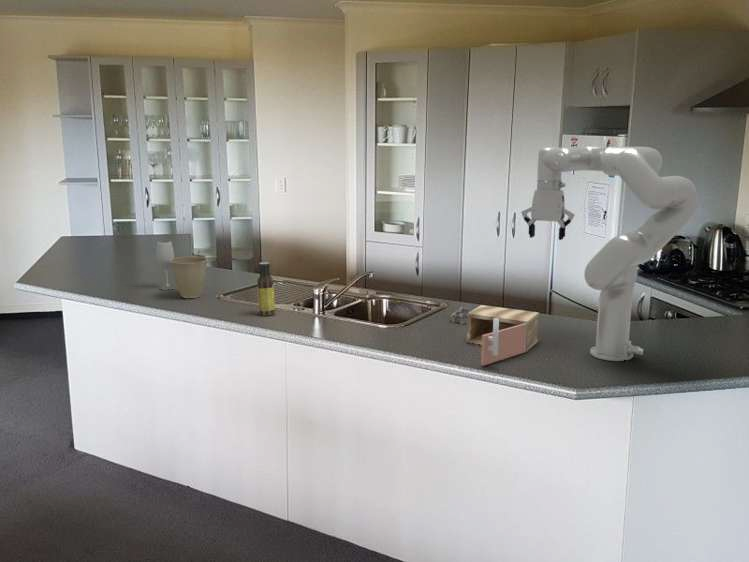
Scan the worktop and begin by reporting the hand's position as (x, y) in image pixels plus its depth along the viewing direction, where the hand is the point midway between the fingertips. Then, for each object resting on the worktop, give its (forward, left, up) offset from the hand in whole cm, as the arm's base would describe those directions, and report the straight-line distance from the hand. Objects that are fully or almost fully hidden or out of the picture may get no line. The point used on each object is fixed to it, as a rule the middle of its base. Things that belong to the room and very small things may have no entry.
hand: (546, 238), depth 230 cm
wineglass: (+164, +12, -34) cm, 168 cm away
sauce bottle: (+99, +24, -34) cm, 107 cm away
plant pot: (+144, +18, -34) cm, 149 cm away
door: (+1, +30, -33) cm, 45 cm away
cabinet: (+9, +14, -33) cm, 37 cm away
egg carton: (+30, -4, -34) cm, 46 cm away
